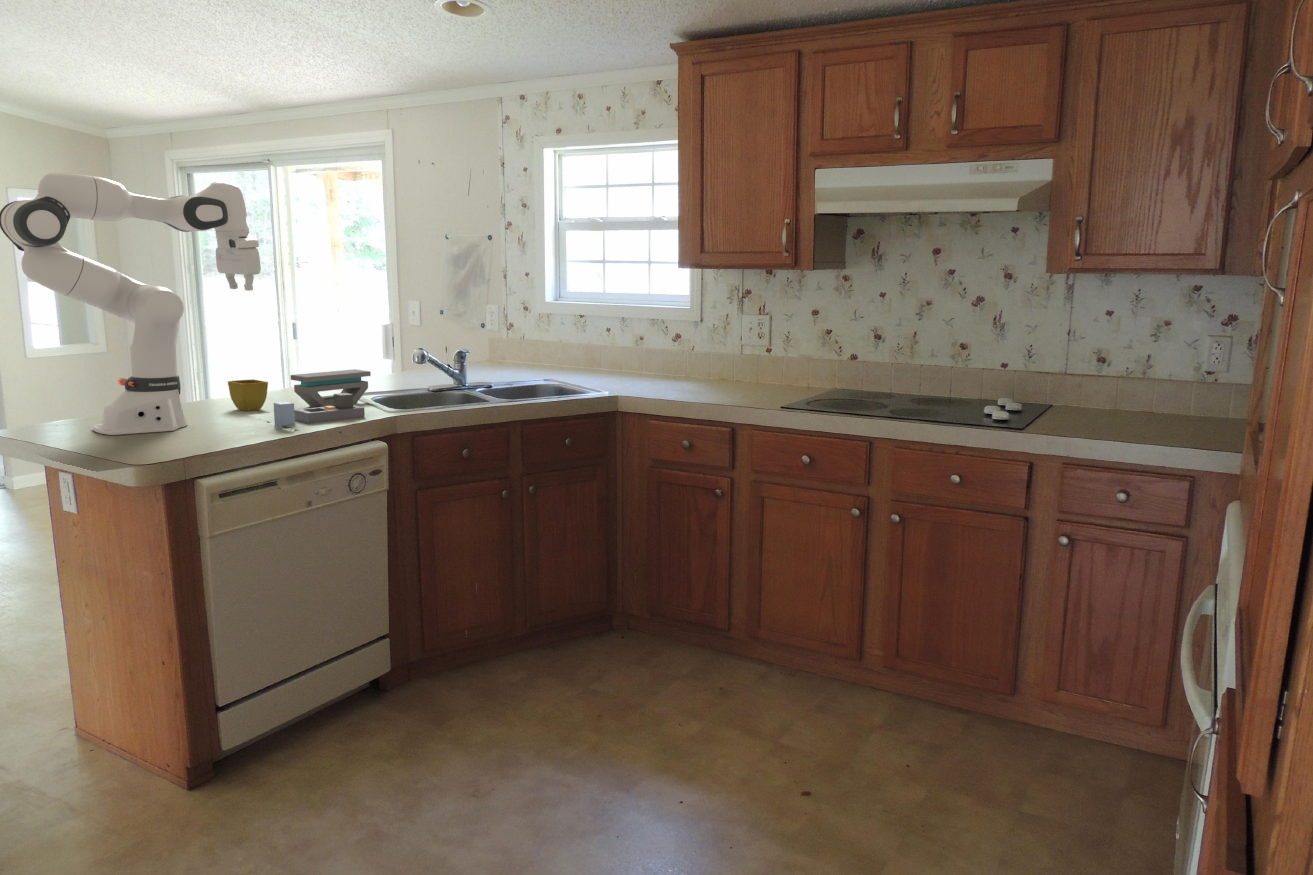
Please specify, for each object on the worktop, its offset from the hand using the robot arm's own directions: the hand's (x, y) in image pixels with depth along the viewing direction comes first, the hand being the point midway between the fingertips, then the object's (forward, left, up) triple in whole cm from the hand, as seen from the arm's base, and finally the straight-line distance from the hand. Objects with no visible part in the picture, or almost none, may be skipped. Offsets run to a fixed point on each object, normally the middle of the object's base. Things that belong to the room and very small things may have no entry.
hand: (241, 289), depth 259 cm
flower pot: (+8, +15, -38) cm, 42 cm away
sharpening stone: (+32, +7, -38) cm, 50 cm away
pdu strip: (+16, -20, -38) cm, 46 cm away
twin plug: (+20, -20, -37) cm, 46 cm away
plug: (+2, -20, -38) cm, 43 cm away
